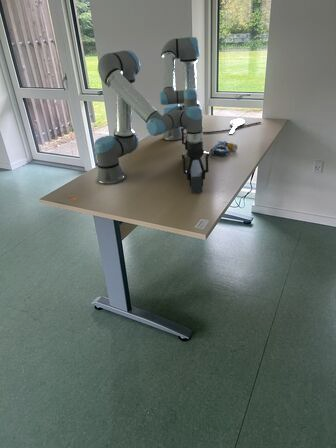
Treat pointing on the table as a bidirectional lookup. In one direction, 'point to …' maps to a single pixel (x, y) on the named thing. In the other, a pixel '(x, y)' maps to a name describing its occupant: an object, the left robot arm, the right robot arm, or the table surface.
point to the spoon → (236, 124)
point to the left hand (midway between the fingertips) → (196, 185)
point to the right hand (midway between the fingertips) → (192, 154)
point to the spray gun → (223, 148)
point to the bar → (196, 176)
